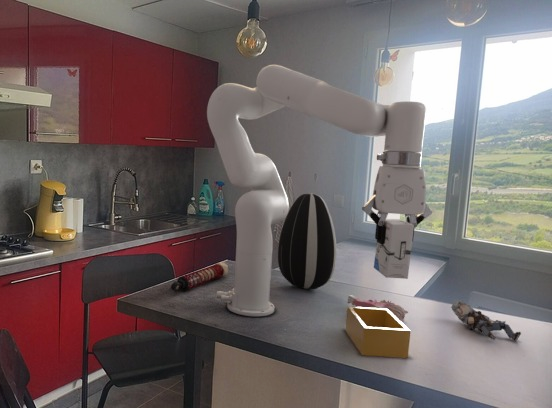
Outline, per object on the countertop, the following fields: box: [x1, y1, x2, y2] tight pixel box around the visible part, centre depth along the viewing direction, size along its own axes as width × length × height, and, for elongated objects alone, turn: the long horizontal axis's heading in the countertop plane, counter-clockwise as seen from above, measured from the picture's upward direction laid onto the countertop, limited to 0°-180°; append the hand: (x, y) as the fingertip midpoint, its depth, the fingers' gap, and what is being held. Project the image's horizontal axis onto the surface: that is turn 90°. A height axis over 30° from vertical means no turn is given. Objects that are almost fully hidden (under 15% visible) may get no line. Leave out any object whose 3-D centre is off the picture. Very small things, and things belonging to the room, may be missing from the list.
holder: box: [344, 306, 411, 359], centre depth 102 cm, size 10×14×6 cm
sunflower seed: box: [277, 192, 338, 290], centre depth 142 cm, size 19×10×30 cm, turn 58°
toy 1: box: [346, 294, 409, 323], centre depth 120 cm, size 8×6×15 cm
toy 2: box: [450, 299, 522, 342], centre depth 113 cm, size 7×11×15 cm
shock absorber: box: [170, 261, 229, 292], centre depth 142 cm, size 5×5×30 cm
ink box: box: [373, 218, 415, 280], centre depth 99 cm, size 9×5×12 cm, turn 178°
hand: (393, 243), depth 99 cm, fingers closed on ink box, 5 cm apart
